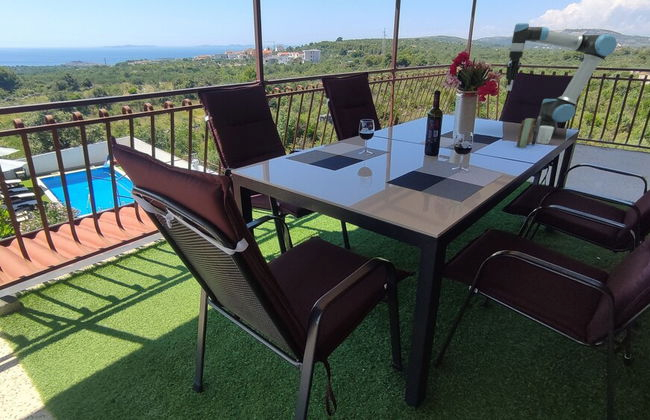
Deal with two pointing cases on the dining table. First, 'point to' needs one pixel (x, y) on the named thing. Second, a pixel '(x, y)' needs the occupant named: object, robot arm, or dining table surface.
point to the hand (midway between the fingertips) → (508, 90)
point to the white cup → (545, 134)
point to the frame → (526, 132)
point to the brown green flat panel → (529, 132)
